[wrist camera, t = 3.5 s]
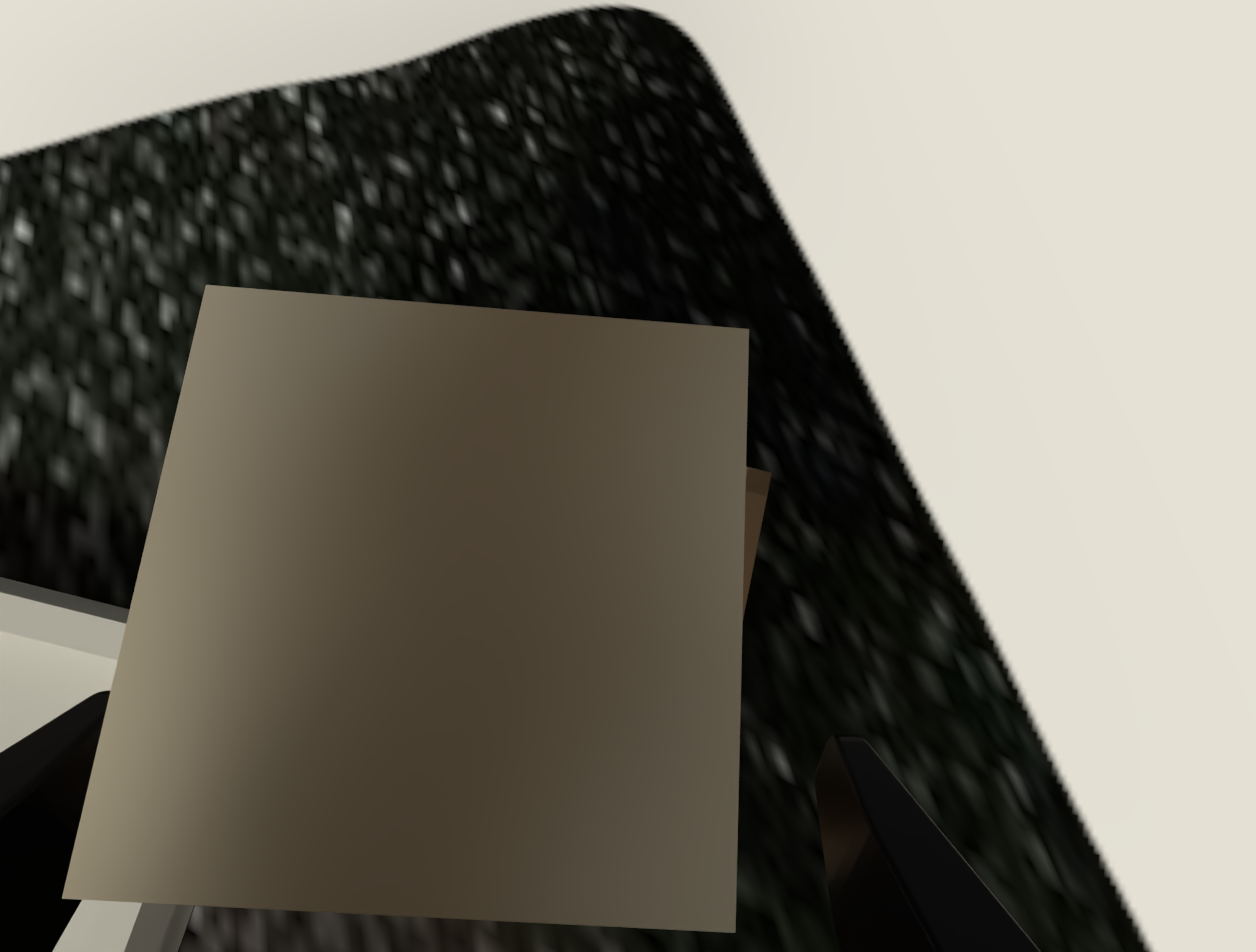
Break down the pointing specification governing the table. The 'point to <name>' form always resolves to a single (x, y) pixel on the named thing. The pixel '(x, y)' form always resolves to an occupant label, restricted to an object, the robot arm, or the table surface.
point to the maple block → (435, 621)
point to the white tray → (44, 689)
